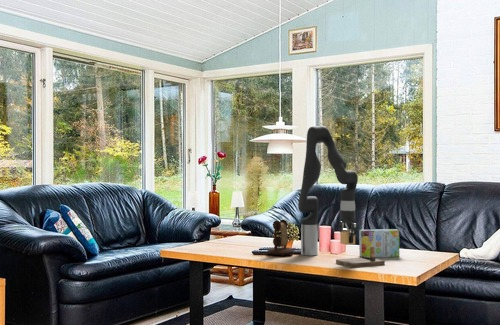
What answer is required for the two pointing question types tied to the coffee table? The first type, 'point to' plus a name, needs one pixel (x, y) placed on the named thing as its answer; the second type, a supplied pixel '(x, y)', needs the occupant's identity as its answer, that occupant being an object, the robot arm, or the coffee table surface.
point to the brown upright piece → (280, 239)
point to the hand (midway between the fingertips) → (347, 242)
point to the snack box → (379, 242)
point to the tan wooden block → (346, 238)
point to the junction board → (361, 260)
